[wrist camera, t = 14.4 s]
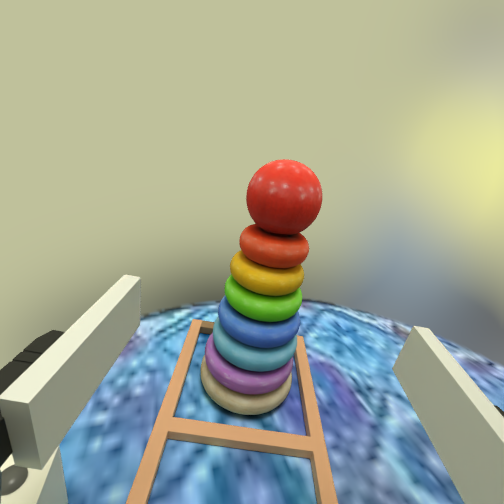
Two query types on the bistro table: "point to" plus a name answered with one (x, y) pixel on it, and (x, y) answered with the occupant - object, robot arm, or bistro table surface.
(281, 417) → the bistro table surface
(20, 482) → the die
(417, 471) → the bistro table surface
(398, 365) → the robot arm
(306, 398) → the ladder
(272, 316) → the stacking toy
